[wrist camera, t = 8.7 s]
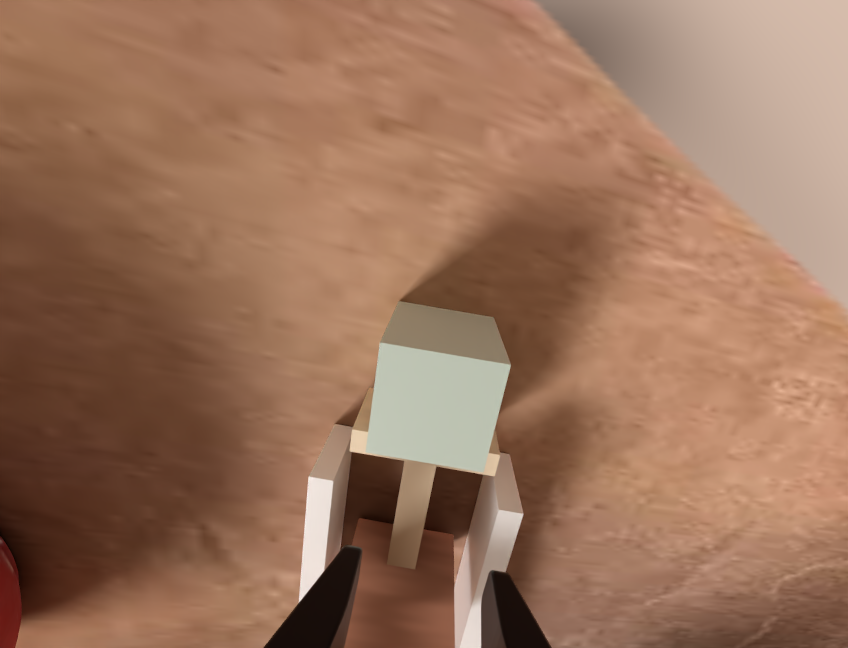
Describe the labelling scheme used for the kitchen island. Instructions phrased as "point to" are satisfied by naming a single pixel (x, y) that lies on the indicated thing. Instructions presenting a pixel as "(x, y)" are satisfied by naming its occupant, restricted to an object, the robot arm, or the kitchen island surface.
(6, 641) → the mixing bowl
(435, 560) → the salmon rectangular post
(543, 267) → the kitchen island surface
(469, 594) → the channel
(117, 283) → the kitchen island surface
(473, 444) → the block
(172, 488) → the kitchen island surface
